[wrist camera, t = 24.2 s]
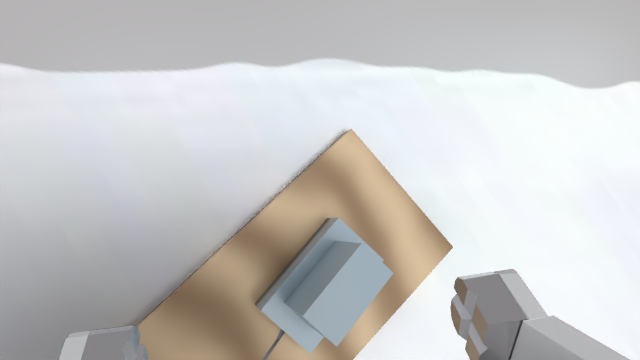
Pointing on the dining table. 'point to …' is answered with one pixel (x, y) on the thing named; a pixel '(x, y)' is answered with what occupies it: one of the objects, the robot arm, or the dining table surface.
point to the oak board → (281, 247)
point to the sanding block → (325, 286)
